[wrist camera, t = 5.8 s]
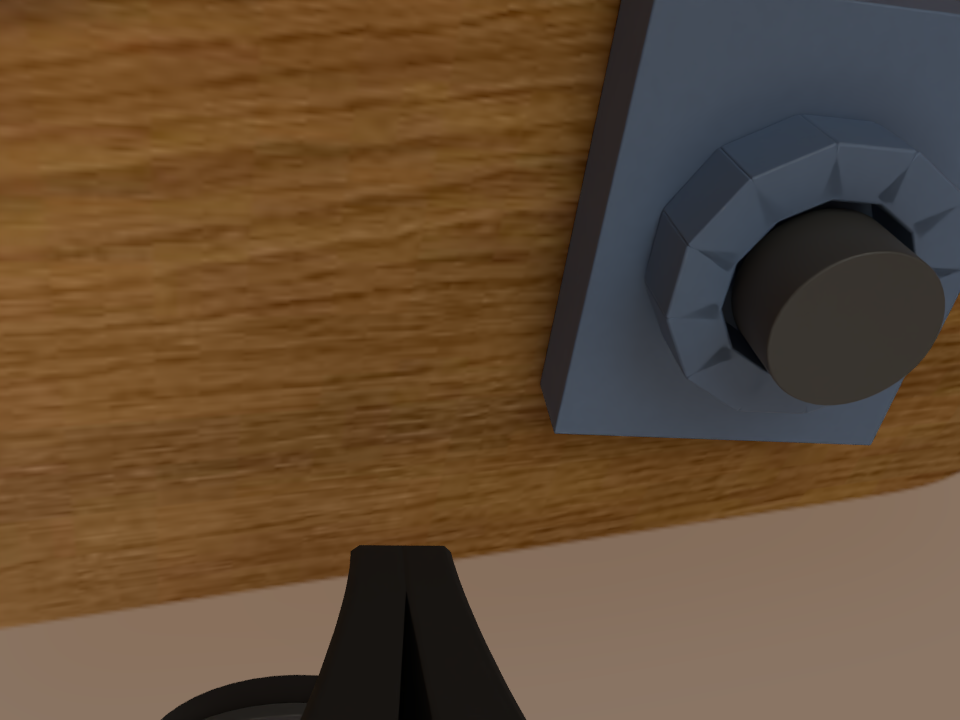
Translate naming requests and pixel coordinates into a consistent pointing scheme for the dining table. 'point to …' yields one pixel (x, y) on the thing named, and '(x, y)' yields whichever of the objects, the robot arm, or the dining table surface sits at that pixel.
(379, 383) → the dining table surface
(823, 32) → the block
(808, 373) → the button
